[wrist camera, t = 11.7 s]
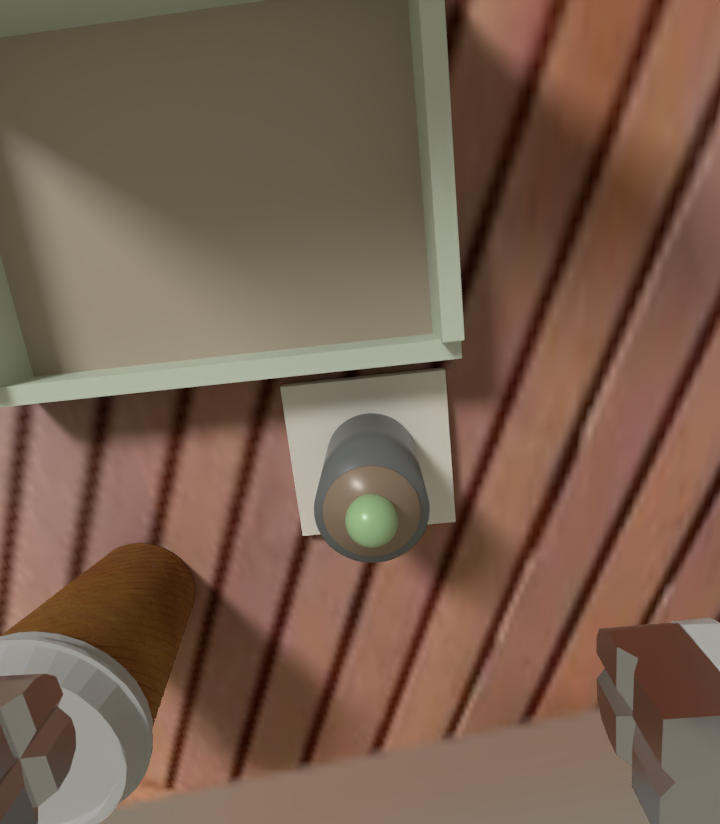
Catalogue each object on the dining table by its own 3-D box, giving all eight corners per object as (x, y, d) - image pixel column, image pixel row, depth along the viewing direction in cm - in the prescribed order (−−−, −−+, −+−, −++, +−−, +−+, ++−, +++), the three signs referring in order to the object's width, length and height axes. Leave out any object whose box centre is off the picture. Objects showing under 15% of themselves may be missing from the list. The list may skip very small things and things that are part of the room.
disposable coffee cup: (73, 505, 31) (-104, 643, 19) (230, 533, 31) (147, 684, 20) (67, 638, 33) (-93, 830, 22) (212, 662, 34) (130, 865, 22)
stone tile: (443, 367, 28) (445, 370, 28) (453, 515, 31) (455, 522, 30) (282, 384, 29) (279, 387, 28) (304, 529, 31) (302, 535, 30)
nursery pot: (411, 408, 28) (430, 468, 20) (419, 492, 30) (439, 583, 21) (321, 418, 28) (299, 480, 20) (333, 500, 30) (317, 594, 21)
